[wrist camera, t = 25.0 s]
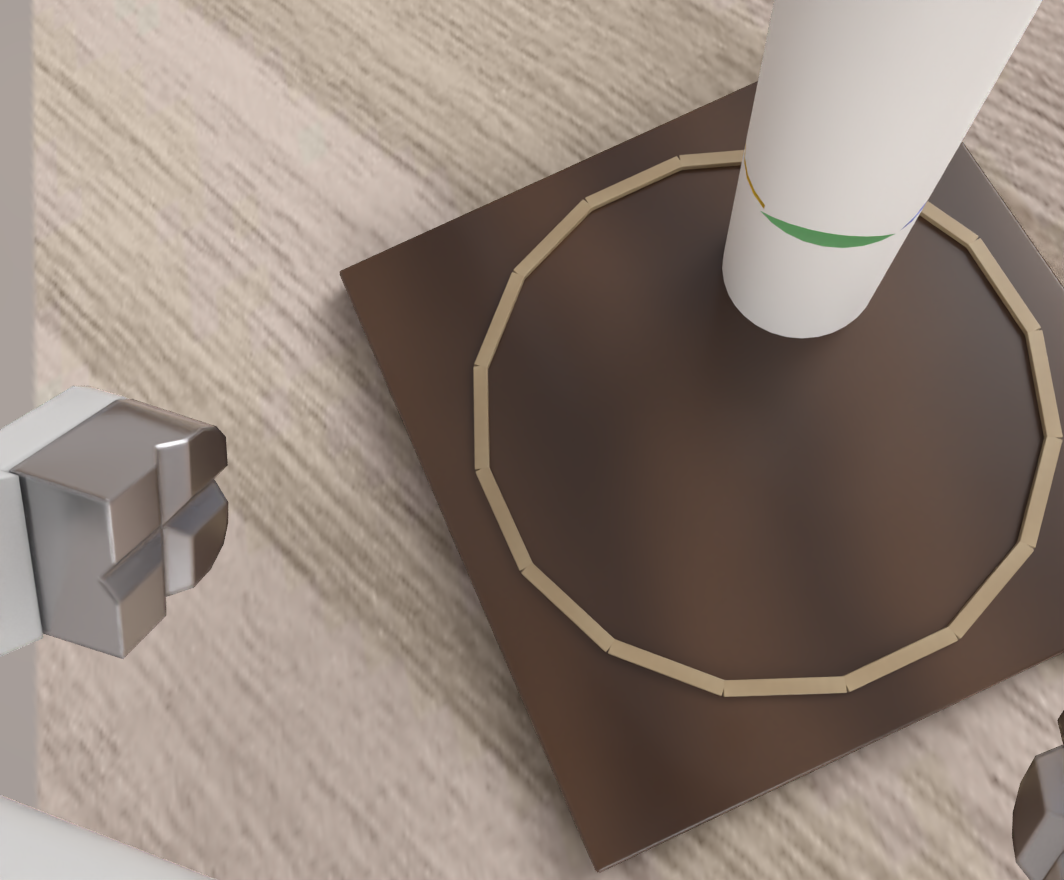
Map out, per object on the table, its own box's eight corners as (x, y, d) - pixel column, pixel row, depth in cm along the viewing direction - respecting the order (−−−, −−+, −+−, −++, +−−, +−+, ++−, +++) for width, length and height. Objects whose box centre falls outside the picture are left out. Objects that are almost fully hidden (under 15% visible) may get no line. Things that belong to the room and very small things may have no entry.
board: (598, 868, 24) (596, 876, 23) (346, 285, 30) (335, 267, 28) (1232, 567, 25) (1261, 559, 24) (873, 45, 30) (883, 18, 29)
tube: (692, 248, 28) (758, -258, 13) (817, 173, 28) (1014, -403, 13) (780, 366, 26) (957, -51, 12) (910, 286, 27) (1234, -215, 12)
